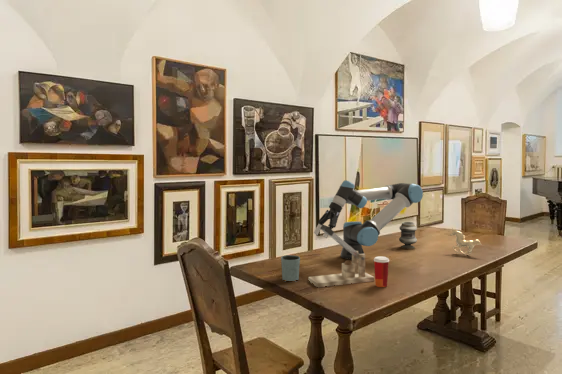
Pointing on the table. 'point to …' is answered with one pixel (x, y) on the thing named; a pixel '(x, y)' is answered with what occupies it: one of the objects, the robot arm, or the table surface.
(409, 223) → the apothecary jar
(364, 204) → the robot arm
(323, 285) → the press base
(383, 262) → the paper cup
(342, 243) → the lever
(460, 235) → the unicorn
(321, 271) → the table surface
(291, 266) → the blue grey planter pot
